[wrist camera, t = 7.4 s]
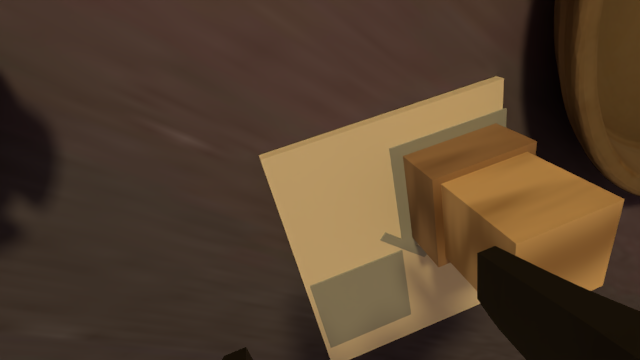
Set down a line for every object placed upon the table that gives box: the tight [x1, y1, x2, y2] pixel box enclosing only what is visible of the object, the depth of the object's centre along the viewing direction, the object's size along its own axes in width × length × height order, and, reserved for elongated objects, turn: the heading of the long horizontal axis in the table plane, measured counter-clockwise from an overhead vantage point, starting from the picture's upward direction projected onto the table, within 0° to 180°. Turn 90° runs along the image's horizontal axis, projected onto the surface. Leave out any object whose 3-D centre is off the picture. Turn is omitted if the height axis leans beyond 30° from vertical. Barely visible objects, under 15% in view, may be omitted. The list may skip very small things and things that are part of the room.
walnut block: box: [403, 123, 537, 267], centre depth 21 cm, size 6×6×3 cm
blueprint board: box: [259, 76, 507, 360], centre depth 24 cm, size 18×14×1 cm
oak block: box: [441, 152, 625, 291], centre depth 17 cm, size 5×5×5 cm
